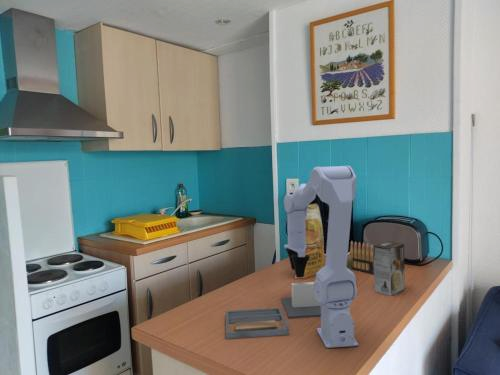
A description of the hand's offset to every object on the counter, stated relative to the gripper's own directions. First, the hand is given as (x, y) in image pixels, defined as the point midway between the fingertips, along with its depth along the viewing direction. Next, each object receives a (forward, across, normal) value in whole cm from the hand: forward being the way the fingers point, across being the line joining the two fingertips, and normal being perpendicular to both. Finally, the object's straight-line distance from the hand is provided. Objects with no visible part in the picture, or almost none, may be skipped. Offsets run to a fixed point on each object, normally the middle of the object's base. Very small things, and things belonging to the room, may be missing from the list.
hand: (297, 273), depth 114 cm
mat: (+10, +5, +2) cm, 11 cm away
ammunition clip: (+10, -26, +32) cm, 42 cm away
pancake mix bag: (+10, -26, +10) cm, 30 cm away
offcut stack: (+10, +18, -15) cm, 26 cm away
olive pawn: (+10, -11, +20) cm, 25 cm away
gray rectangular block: (+9, +5, +2) cm, 10 cm away
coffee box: (+10, -5, +33) cm, 35 cm away
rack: (+10, +14, -15) cm, 23 cm away
